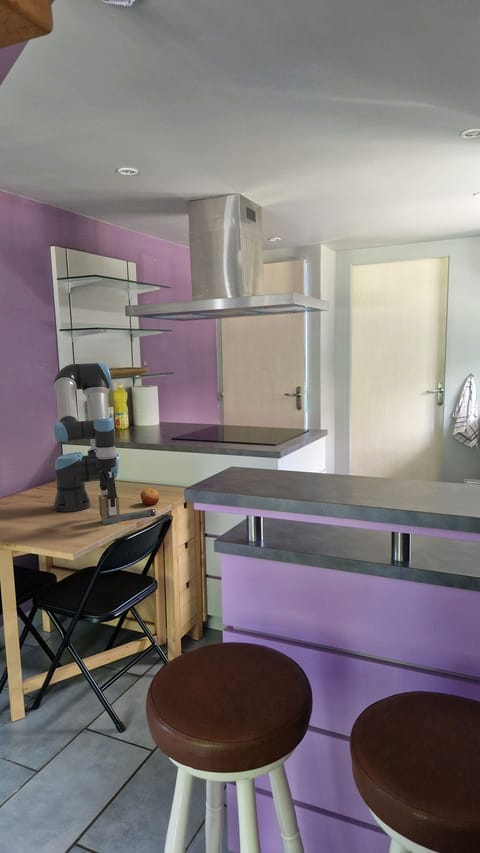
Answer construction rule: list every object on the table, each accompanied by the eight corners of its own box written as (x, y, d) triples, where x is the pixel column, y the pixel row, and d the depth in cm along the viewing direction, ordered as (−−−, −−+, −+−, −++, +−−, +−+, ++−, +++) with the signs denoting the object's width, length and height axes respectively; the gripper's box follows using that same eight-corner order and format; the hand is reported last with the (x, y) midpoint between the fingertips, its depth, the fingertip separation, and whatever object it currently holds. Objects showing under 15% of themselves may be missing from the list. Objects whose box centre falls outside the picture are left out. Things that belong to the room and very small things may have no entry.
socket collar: (99, 514, 214) (98, 495, 213) (115, 512, 217) (114, 492, 216) (103, 518, 208) (101, 498, 207) (119, 516, 211) (118, 496, 210)
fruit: (149, 496, 243) (154, 483, 239) (159, 508, 239) (164, 494, 235) (134, 500, 237) (139, 486, 233) (143, 512, 233) (148, 498, 229)
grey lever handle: (100, 521, 214) (99, 504, 213) (153, 512, 223) (152, 496, 222) (103, 524, 209) (102, 507, 208) (157, 516, 218) (156, 499, 217)
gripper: (90, 453, 219) (93, 504, 222) (102, 463, 197) (106, 520, 200) (108, 451, 222) (111, 501, 225) (123, 461, 200) (126, 517, 203)
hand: (109, 510), depth 212 cm, fingers open, 13 cm apart
